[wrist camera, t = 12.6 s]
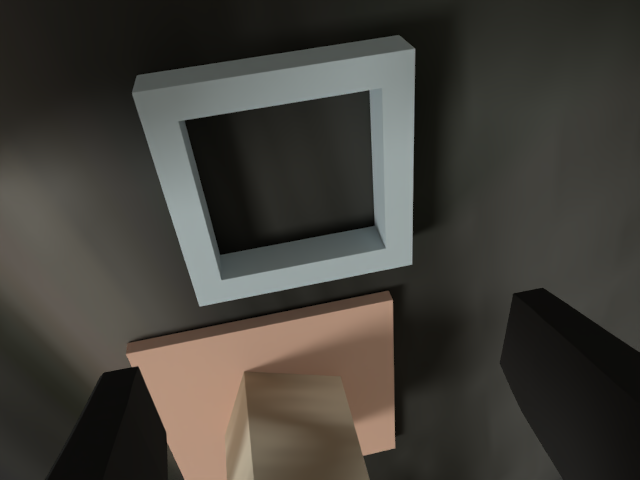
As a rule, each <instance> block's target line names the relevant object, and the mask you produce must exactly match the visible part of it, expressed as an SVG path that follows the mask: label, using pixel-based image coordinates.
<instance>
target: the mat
mask: <svg viewBox="0 0 640 480" xmlns="http://www.w3.org/2000/svg"><path fill="white" fill-rule="evenodd" d="M126 355H127V357H128V359H129V362H130V364H131V366H132V367H136V366H138V367H139V369H140V371H141V374H142V376H143V378H144V381H145V383H146V386H147V388H148V390H149V393H150V395H151V397H152V400H153V402H154V404H155V407H156V409H157V411H158V414H159V416H160V418H161V421H162V423H163V426H164V428H165V430H166V433H167V443H168V445H169V447H170V449H171V451H172V453H173V456H174V458H175V460H176V462H177V464H178V466H179V468H180V471H181V473H182V475H183V477H184V479H185V480H227V471H226V449H225V434H226V430H227V427H228V423H229V420H230V417H231V413H232V410H233V407H234V403H235V400H236V397H237V393H238V390H239V387H240V383H241V380H242V376H243V373H244V372H264V373H285V374H306V375H326V376H341V379H342V383H343V387H344V390H345V394H346V397H347V401H348V404H349V408H350V412H351V415H352V419H353V422H354V426H355V430H356V433H357V437H358V440H359V444H360V447H361V451H362V455H368V454H372V453H376V452H381V451H385V450H389V449H394V448H395V410H394V343H393V299H392V297H391V295H390V292H389V291H384V292H379V293H374V294H369V295H364V296H359V297H354V298H349V299H344V300H339V301H334V302H329V303H324V304H319V305H315V306H310V307H305V308H300V309H295V310H290V311H285V312H280V313H275V314H270V315H265V316H260V317H255V318H250V319H245V320H240V321H235V322H230V323H225V324H220V325H215V326H210V327H205V328H200V329H195V330H190V331H185V332H180V333H176V334H171V335H166V336H161V337H156V338H151V339H146V340H141V341H136V342H131V343H128V344H127V351H126Z"/></svg>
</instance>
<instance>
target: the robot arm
mask: <svg viewBox="0 0 640 480" xmlns="http://www.w3.org/2000/svg"><path fill="white" fill-rule="evenodd" d="M500 365H501V367H502V369H503V372H504V374H505V376H506V379H507V381H508V383H509V385H510V388H511V390H512V392H513V394H514V396H515V398H516V400H517V403H518V405H519V407H520V409H521V411H522V413H523V414H524V416H525V418H526V419H527V421H528V423H529V424H530V426H531V428H532V429H533V431H534V433H535V434H536V436H537V438H538V439H539V441H540V443H541V444H542V446H543V447H544V449H545V451H546V452H547V454H548V456H549V457H550V459H551V460H552V462H553V464H554V465H555V467H556V469H557V470H558V472H559V473H560V475H561V477H562V478H563V480H640V352H638V351H637V350H635V349H634V348H632V347H630V346H629V345H627V344H626V343H624V342H623V341H621V340H620V339H618V338H617V337H615V336H614V335H612V334H611V333H609V332H608V331H606V330H605V329H603V328H602V327H600V326H599V325H598V324H596V323H595V322H593V321H592V320H590V319H589V318H587V317H586V316H584V315H583V314H581V313H580V312H578V311H577V310H575V309H574V308H572V307H571V306H569V305H568V304H567V303H565V302H564V301H562V300H561V299H559V298H558V297H556V296H555V295H553V294H551V293H550V292H548V291H547V290H545V289H544V288H539V289H534V290H529V291H524V292H519V293H514V294H513V298H512V303H511V308H510V314H509V319H508V324H507V329H506V334H505V339H504V345H503V350H502V355H501V360H500ZM45 480H168V472H167V433H166V430H165V428H164V426H163V423H162V421H161V418H160V416H159V414H158V411H157V409H156V407H155V404H154V402H153V400H152V397H151V395H150V393H149V390H148V388H147V386H146V383H145V381H144V378H143V376H142V374H141V371H140V369H139V367H138V366H136V367H131V368H126V369H120V370H115V371H110V372H105V373H103V374H102V376H101V377H100V378H99V380H98V382H97V384H96V386H95V388H94V390H93V392H92V394H91V396H90V398H89V400H88V402H87V404H86V406H85V407H84V409H83V411H82V413H81V415H80V417H79V419H78V421H77V423H76V425H75V427H74V428H73V430H72V432H71V434H70V436H69V438H68V440H67V441H66V443H65V445H64V447H63V449H62V451H61V452H60V454H59V456H58V458H57V460H56V461H55V463H54V465H53V467H52V468H51V470H50V472H49V474H48V475H47V477H46V479H45Z"/></svg>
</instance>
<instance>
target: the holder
mask: <svg viewBox="0 0 640 480" xmlns="http://www.w3.org/2000/svg"><path fill="white" fill-rule="evenodd" d="M367 90H370V114H371V140H372V166H373V192H374V218H375V226H371V227H366V228H361V229H355V230H350V231H345V232H339V233H334V234H329V235H324V236H318V237H313V238H308V239H302V240H297V241H292V242H286V243H281V244H276V245H271V246H265V247H260V248H255V249H249V250H244V251H239V252H234V253H228V254H223V255H220V253H219V249H218V245H217V242H216V238H215V234H214V230H213V226H212V223H211V219H210V215H209V211H208V208H207V204H206V200H205V196H204V192H203V189H202V185H201V181H200V177H199V173H198V170H197V166H196V162H195V158H194V155H193V151H192V147H191V143H190V139H189V136H188V132H187V128H186V124H185V120H189V119H195V118H202V117H208V116H214V115H220V114H226V113H232V112H238V111H244V110H251V109H257V108H263V107H269V106H275V105H281V104H287V103H294V102H300V101H306V100H312V99H318V98H324V97H330V96H337V95H343V94H349V93H355V92H361V91H367ZM132 95H133V98H134V101H135V105H136V108H137V111H138V114H139V117H140V120H141V123H142V127H143V130H144V133H145V136H146V139H147V142H148V145H149V149H150V152H151V155H152V158H153V161H154V164H155V167H156V171H157V174H158V177H159V180H160V183H161V186H162V190H163V193H164V196H165V199H166V202H167V205H168V208H169V212H170V215H171V218H172V221H173V224H174V227H175V230H176V234H177V237H178V240H179V243H180V246H181V249H182V252H183V256H184V259H185V262H186V265H187V268H188V271H189V275H190V278H191V281H192V284H193V287H194V290H195V293H196V297H197V300H198V303H199V306H205V305H210V304H215V303H220V302H225V301H230V300H235V299H240V298H245V297H250V296H255V295H260V294H265V293H270V292H276V291H281V290H286V289H291V288H296V287H301V286H306V285H311V284H316V283H321V282H326V281H331V280H336V279H341V278H346V277H351V276H357V275H362V274H367V273H372V272H377V271H382V270H387V269H392V268H397V267H402V266H407V265H412V235H413V165H414V95H415V48H414V47H413V46H412V45H410V44H409V43H408V42H407V41H406V40H404V39H403V38H402V37H401V36H400V35H396V36H389V37H383V38H376V39H370V40H363V41H357V42H350V43H344V44H337V45H331V46H324V47H318V48H311V49H305V50H298V51H292V52H285V53H279V54H272V55H266V56H259V57H252V58H246V59H239V60H233V61H226V62H220V63H213V64H207V65H200V66H194V67H187V68H181V69H174V70H168V71H161V72H155V73H148V74H142V75H137V77H136V80H135V84H134V87H133V91H132Z"/></svg>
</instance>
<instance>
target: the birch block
mask: <svg viewBox="0 0 640 480" xmlns="http://www.w3.org/2000/svg"><path fill="white" fill-rule="evenodd" d="M225 449H226V471H227V480H369V476H368V472H367V469H366V465H365V462H364V458H363V455H362V451H361V447H360V444H359V440H358V437H357V433H356V430H355V426H354V422H353V419H352V415H351V412H350V408H349V404H348V401H347V397H346V394H345V390H344V387H343V383H342V379H341V376H326V375H306V374H285V373H264V372H244V373H243V376H242V380H241V383H240V387H239V390H238V393H237V397H236V400H235V403H234V407H233V410H232V413H231V417H230V420H229V423H228V427H227V430H226V434H225Z"/></svg>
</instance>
